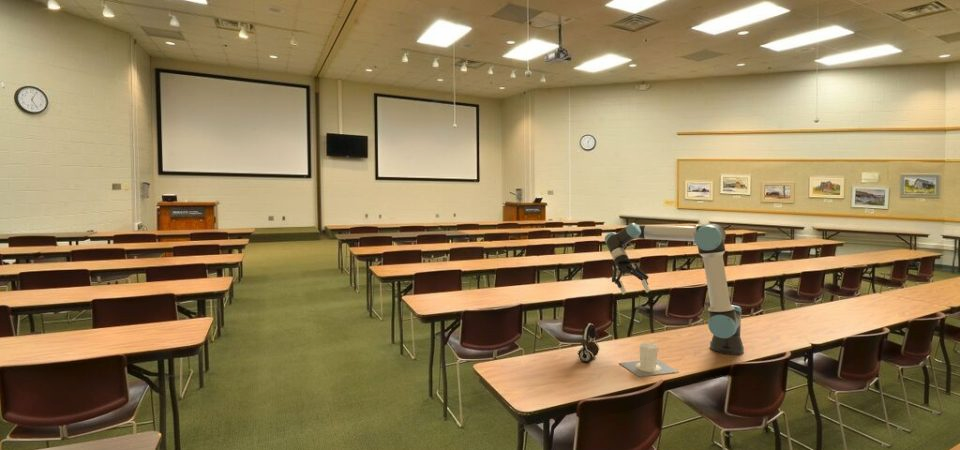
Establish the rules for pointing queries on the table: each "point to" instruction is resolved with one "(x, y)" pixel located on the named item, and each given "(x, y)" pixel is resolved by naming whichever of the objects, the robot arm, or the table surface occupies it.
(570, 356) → the table surface
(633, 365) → the card
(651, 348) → the white cup
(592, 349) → the headset
